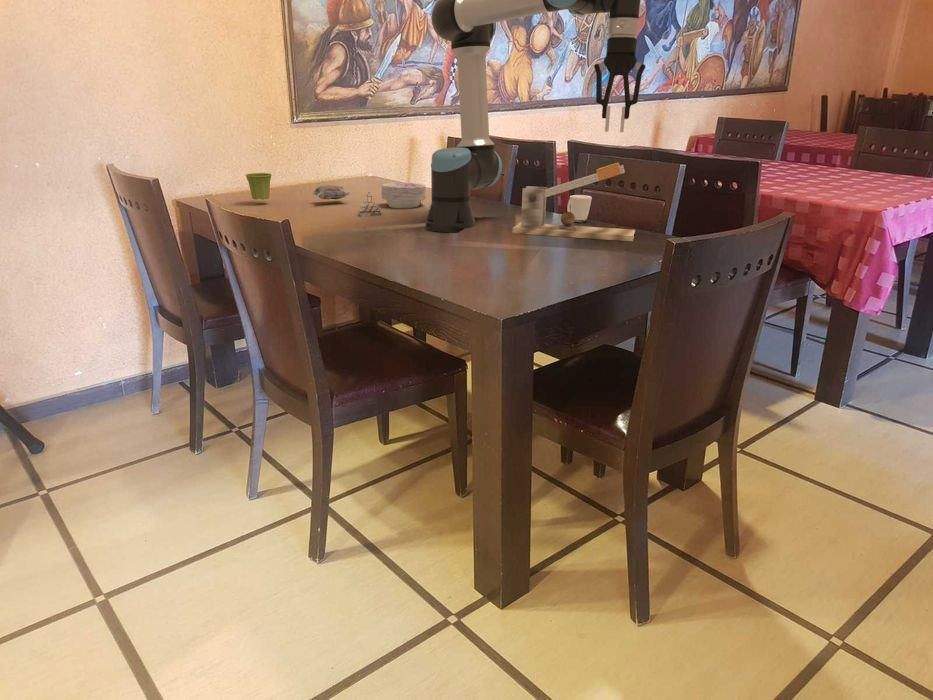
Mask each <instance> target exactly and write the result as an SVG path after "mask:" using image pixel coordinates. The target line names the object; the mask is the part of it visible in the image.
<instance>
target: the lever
mask: <svg viewBox="0 0 933 700" xmlns="http://www.w3.org/2000/svg"><path fill="white" fill-rule="evenodd" d="M595 171H596V173H595V172H594V173H593V174H590V175H587V176H583V177H579V178H576V179H574V180H571V181H567V182H565V183H560V184H558V185H553V186H552V187H547V189H545V190H544V198H545V197H546V198H548V197H551V196H554V195H558V194H561V193H564V192H567V191H570V190H574V189H576V188H580V187H583V186H587V185H589V184H592V183H596V182H599V181H603V180H606V179H609V178H612V177H616V176H619V175H622V174H625V172H626V171H625V167H624V164H621V165H620V163H619V162H615V163H611V164H609V165H605V166H602V167H600V168H597V169H595Z"/></svg>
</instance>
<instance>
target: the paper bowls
mask: <svg viewBox="0 0 933 700" xmlns="http://www.w3.org/2000/svg"><path fill="white" fill-rule="evenodd" d="M426 189H427V188H426V184H422V183H413V182H391V183H390V182H389V183H383V184H382V185H381V199H382V200H386V203H387V205H388V207H390V208H391V209H392V208H393V209H412V208H418V207H420V204H421V202H423V201H425V200H426V196H427V195H426V191H427V190H426Z"/></svg>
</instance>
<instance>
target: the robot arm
mask: <svg viewBox="0 0 933 700" xmlns="http://www.w3.org/2000/svg"><path fill="white" fill-rule="evenodd" d="M640 6H641V0H438V1H437V2H435V4H434V6H433V8H432V10H431V16H430V17H431V18H430V20H431V25H432V29H433V30H434V32H435V33H436V34H437V36H439V37H440V38H442V39H443V40H445V41H447V42H450V44H451V46H450V48H451V49H450V50H451V53H453V54H454V55H455V56H456V61H457V62H456V66H457V80H458V82H457V83H458V97H459V100H458V101H459V115H460V116H459V118H460V119H459V120H460V130H461V131H460V134H461V139H460V140H461V141H460V142H459V143H458V144H457V145H456V147H445V148H440V149H438V150H435V151H434V152H433V153H432V156H431V164H430V168H431V169H430V170H431V172H430V173H431V177H430V178H431V203H430V206H429V209H428V213H427V216H426V220H425V228H426V229H427V230H429V231H433V232H439V233H440V232H441V233H460V232H461V231H464V230H465V229H468V228H470V229H471V228H473V227H475V226H476V220H475V217H474V212H473V209H472V206H471V201H470V200H471V191H474V190H484V189H486V188H488V187H491V186H494V185H495V184H496V183H497V181H498V180H500V177H501V175H502V171H503V162H502V159H501V157H500V156H499V154H498V153H497V152H496V151H495V143H494V141H492V140H491V138H490V129H489V123H490V122H489V105H488V103H489V102H488V83H487V80H488V79H487V60H486V59H487V58H486V56H487V53H488V52H489V51H490V50H491V41H492V40H493V36H495V35H496V31H497V23H500V22H505V21H511V20H515V19H520V18H525V17H530V16H537V15H543V14H545V13H546V14H547V13H553V12H559V11H563V10H568V13H570V14H571V15H580V16H584V15H591V14H603V13H604V14H605V13H606V14H609V19H608V28H607V29H608V30H607V35H608V36H609V38H607V39H606V40H607V41H606V42H607V43H606V52H605V53H606V54H605V57H604V59H603V61H601V62H599V63H595V64H594V66H593V67H594V70H595V73H596V76H595V77H596V82H595V83H596V84H595V85H596V87H595V88H596V89H595V93H596V94H595V99H596V100H595V101H596V103H597V104H599V105H600V106H602V111H601V112H602V113H601V118H602V119H605V125H604V132H605V133H606V132H607V133H608V132H609V130H610V128H609V127H610V119H611V117H610V115H611V107H612V106H611V105H609V101H610V97H611V95H612V94H611V93H612V90H613V89H612V88H613V84H614V81H615V78H616V77H615V76H622V79H623V92H624V103H625V105H624V106H621V117H620V129H619V132H620V133H624V131H625V130H624V129H625V122H626V121H625V120H629V117H630V111H631V106H633V105H635V104H637V103H638V100H639V96H640V95H639V94H640V90H641V89H640V87H641V84H642V83H641V81H642V78H643V77H642V76H643V73H644V71H645V69H646V64H644V63H641V62H639V61H638V60H637V57H636V53H637V42H638V40H637V38H636V37H637V36H638V34H639V33H638V32H639V24H640V23H639V20H640V8H641V7H640ZM605 67H606V70H607V71H608V73H609V76H608V80H607V85H606V89H605V93H604V97H602V94H603V93H602V92H603V91H602V90H603V89H602V87H603V86H602V85H603V71H604V68H605ZM634 67H635V71H636V77H635V83H634V90H633V97H632V99H631V93H630V80H629V79H630V78H629V73H631V71H632V70H633V69H634Z"/></svg>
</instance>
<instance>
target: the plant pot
mask: <svg viewBox="0 0 933 700" xmlns="http://www.w3.org/2000/svg"><path fill="white" fill-rule="evenodd" d="M244 176H245V177H246V180H247V181H248V182H247V183H248V186H249V190H250V194H251V198H252V200H268V199H269V198H270V195H271V191H270V189H271V179H272V176H273V174H272V173H269V172H253V173H246V174H244Z"/></svg>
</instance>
